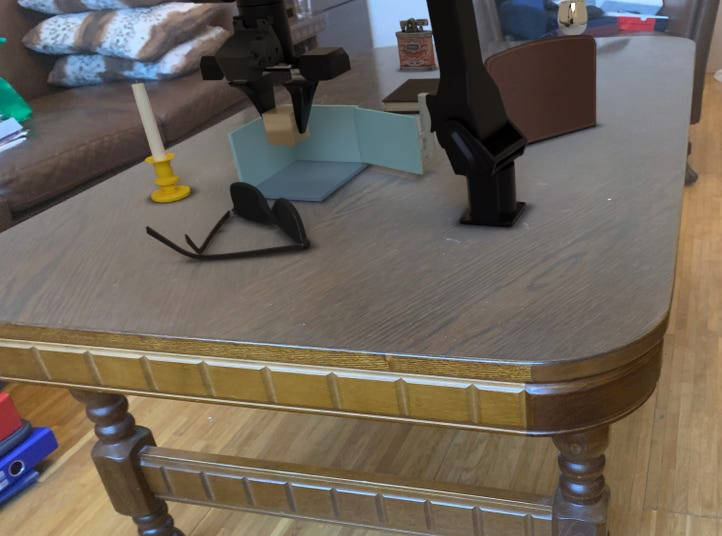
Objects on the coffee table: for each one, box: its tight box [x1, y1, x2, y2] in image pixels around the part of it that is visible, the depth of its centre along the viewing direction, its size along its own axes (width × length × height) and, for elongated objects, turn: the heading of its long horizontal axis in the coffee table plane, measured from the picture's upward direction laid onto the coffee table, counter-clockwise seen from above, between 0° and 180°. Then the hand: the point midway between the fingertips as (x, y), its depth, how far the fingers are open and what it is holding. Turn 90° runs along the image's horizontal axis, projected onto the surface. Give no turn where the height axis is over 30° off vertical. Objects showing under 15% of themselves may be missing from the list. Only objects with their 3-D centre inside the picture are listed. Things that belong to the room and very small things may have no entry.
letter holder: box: [483, 34, 597, 145], centre depth 114 cm, size 10×20×14 cm, turn 123°
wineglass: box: [557, 0, 589, 36], centre depth 150 cm, size 6×6×12 cm
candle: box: [131, 79, 192, 204], centre depth 101 cm, size 5×5×16 cm
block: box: [262, 105, 310, 146], centre depth 99 cm, size 4×4×4 cm
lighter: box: [394, 17, 437, 72], centre depth 159 cm, size 8×3×10 cm, turn 73°
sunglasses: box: [145, 181, 311, 261], centre depth 87 cm, size 17×14×5 cm
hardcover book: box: [381, 77, 440, 115], centre depth 137 cm, size 16×23×2 cm
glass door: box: [353, 93, 437, 175], centre depth 104 cm, size 12×4×10 cm, turn 51°
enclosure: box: [226, 103, 369, 203], centre depth 104 cm, size 14×12×9 cm
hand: (288, 132), depth 100 cm, fingers closed on block, 4 cm apart
